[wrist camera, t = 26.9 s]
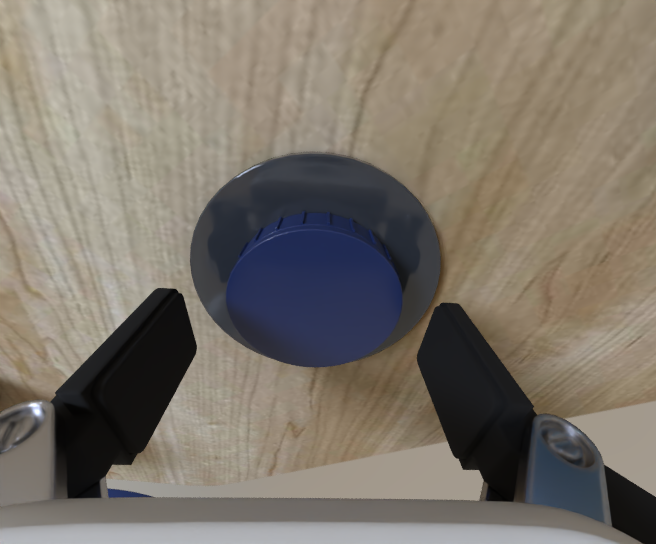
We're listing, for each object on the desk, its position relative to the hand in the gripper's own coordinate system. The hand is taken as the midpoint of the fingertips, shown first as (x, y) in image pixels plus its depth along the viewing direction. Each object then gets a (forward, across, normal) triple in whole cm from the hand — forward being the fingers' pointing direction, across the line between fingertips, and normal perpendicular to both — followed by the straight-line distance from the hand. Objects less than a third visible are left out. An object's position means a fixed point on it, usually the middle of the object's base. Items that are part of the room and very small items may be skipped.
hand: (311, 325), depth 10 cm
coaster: (+3, 0, 0) cm, 3 cm away
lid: (+1, 0, 0) cm, 1 cm away
